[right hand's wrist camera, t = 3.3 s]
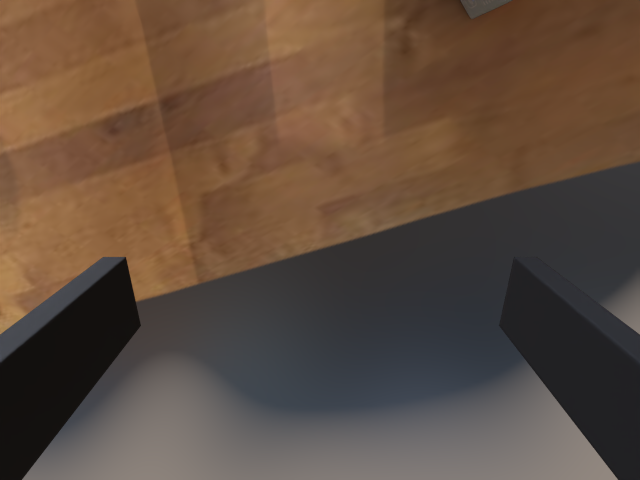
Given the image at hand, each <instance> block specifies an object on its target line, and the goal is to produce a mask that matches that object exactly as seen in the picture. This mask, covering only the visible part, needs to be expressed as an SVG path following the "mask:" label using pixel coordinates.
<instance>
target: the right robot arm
mask: <svg viewBox="0 0 640 480" xmlns="http://www.w3.org/2000/svg"><path fill="white" fill-rule="evenodd" d="M140 326H141V324H140V320H139V315H138V311H137V306H136V301H135V297H134V292H133V288H132V283H131V278H130V274H129V269H128V265H127V260H126V257H103V258H101V259H100V260H99V261H97V262H96V263H95V264H93V265H92V266H91V267H89V268H88V269H87V270H85V271H84V272H83V273H81V274H80V275H79V276H77V277H76V278H75V279H73V280H72V281H71V282H70V283H68V284H67V285H66V286H64V287H63V288H62V289H60V290H59V291H58V292H56V293H55V294H54V295H52V296H51V297H50V298H48V299H47V300H46V301H44V302H43V303H42V304H40V305H39V306H38V307H36V308H35V309H34V310H32V311H31V312H30V313H28V314H27V315H26V316H24V317H23V318H22V319H20V320H19V321H18V322H16V323H15V324H14V325H12V326H11V327H10V328H8V329H7V330H6V331H4V332H3V333H2V334H1V335H0V480H22V479H23V477H24V476H25V475H26V474H27V472H28V471H29V470H30V468H31V467H32V466H33V465H34V463H35V462H36V461H37V459H38V458H39V457H40V455H41V454H42V453H43V452H44V450H45V449H46V448H47V446H48V445H49V444H50V443H51V441H52V440H53V439H54V437H55V436H56V435H57V433H58V432H59V431H60V430H61V428H62V427H63V426H64V424H65V423H66V422H67V421H68V419H69V418H70V417H71V415H72V414H73V413H74V411H75V410H76V409H77V408H78V406H79V405H80V404H81V402H82V401H83V400H84V399H85V397H86V396H87V395H88V393H89V392H90V391H91V389H92V388H93V387H94V385H95V384H96V383H97V382H98V380H99V379H100V378H101V377H102V375H103V374H104V373H105V371H106V370H107V369H108V367H109V366H110V365H111V364H112V362H113V361H114V360H115V358H116V357H117V356H118V355H119V353H120V352H121V351H122V349H123V348H124V347H125V345H126V344H127V343H128V342H129V340H130V339H131V338H132V336H133V335H134V334H135V333H136V331H137V330H138V329H139V327H140ZM499 326H500V327H501V329H502V330H503V331H504V332H505V334H506V335H507V336H508V338H509V339H510V340H511V342H512V343H513V344H514V345H515V347H516V348H517V349H518V351H519V352H520V353H521V354H522V356H523V357H524V358H525V360H526V361H527V362H528V364H529V365H530V366H531V367H532V369H533V370H534V371H535V373H536V374H537V375H538V376H539V378H540V379H541V380H542V382H543V383H544V384H545V386H546V387H547V388H548V389H549V391H550V392H551V393H552V395H553V396H554V397H555V399H556V400H557V401H558V402H559V404H560V405H561V406H562V408H563V409H564V410H565V411H566V413H567V414H568V415H569V417H570V418H571V419H572V421H573V422H574V423H575V424H576V426H577V427H578V428H579V429H580V431H581V432H582V433H583V435H584V436H585V437H586V439H587V440H588V441H589V442H590V444H591V445H592V446H593V448H594V449H595V450H596V452H597V453H598V454H599V455H600V457H601V458H602V459H603V461H604V462H605V463H606V465H607V466H608V467H609V468H610V470H611V471H612V472H613V474H614V475H615V476H616V477H617V479H618V480H640V335H639V334H638V333H637V332H636V331H634V330H633V329H631V328H630V327H629V326H627V325H626V324H625V323H623V322H622V321H621V320H620V319H618V318H617V317H616V316H614V315H613V314H612V313H610V312H609V311H608V310H606V309H605V308H604V307H602V306H601V305H600V304H598V303H597V302H596V301H594V300H593V299H592V298H590V297H589V296H588V295H586V294H585V293H584V292H582V291H581V290H580V289H578V288H577V287H576V286H574V285H573V284H572V283H570V282H569V281H568V280H566V279H565V278H564V277H562V276H561V275H560V274H559V273H557V272H556V271H555V270H553V269H552V268H551V267H549V266H548V265H547V264H545V263H544V262H543V261H541V260H540V259H539V258H537V257H514V260H513V265H512V269H511V274H510V279H509V283H508V288H507V292H506V297H505V301H504V306H503V311H502V315H501V320H500V325H499Z"/></svg>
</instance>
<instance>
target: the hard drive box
mask: <svg viewBox="0 0 640 480" xmlns="http://www.w3.org/2000/svg"><path fill="white" fill-rule="evenodd" d="M460 1H461V3H462V4H463V6H464V8H465V10H466V11H467V13H468V15H469V16H470V18H471V19H474V18H476V17H478V16H480V15H482V14H485V13H487V12H489V11H491V10H493V9H495V8H497V7H500V6H502V5H504V4H506V3H508V2H510V1H512V0H460Z"/></svg>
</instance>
